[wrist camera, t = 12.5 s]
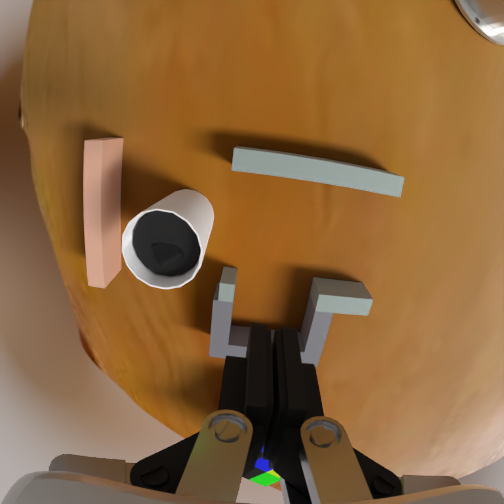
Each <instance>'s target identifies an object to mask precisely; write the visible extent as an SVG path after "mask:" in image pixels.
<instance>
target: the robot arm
mask: <svg viewBox="0 0 504 504" xmlns="http://www.w3.org/2000/svg"><path fill="white" fill-rule="evenodd" d="M455 2H456V4H457V6H458V8H459V10H460V11H461V13H462V14H463V16H464V17H465V18H466V20H467V21H468V22H469V24H470V25H471V26H472V27H473V28H474V29H475V30H476V31H477V32H478V33H480V34H481V35H482V36H483V37H484V38H486V39H487V40H489V41H491V42H493V43H495V44H497V45H501V46H504V0H455ZM262 447H263V459H264V460H269V468H273V471H274V472H275V473H277V474H278V475H279V476H280V484H281V488H282V493H283V498H284V502H285V504H504V494H503V493H502V492H501V491H499V490H497V489H495V488H492V487H489V486H483V485H470V484H468V485H461V484H460V482H459V481H458V480H457V479H455V478H454V477H450V476H417V475H403V476H402V477H397V476H396V475H395V474H394V473H393V472H391V471H389V470H388V469H386V468H384V467H383V466H381V465H379V464H378V463H376V462H375V461H373V460H371V459H370V458H368V457H367V456H365V455H364V454H362V453H360V452H359V451H357V450H356V449H354V448H353V447H352V445H351V443H350V440H349V438H348V436H347V433H346V431H345V429H344V427H343V426H342V425H341V424H340V423H339V422H338V421H336V420H334V419H332V418H329V417H325V416H324V413H323V407H322V402H321V396H320V391H319V385H318V380H317V375H316V369H315V366H314V364H310V363H302V360H301V353H300V347H299V340H298V334H297V328H293V327H283V326H282V327H281V329H280V330H275V332H274V337H273V342H272V338H271V329H266V325H264V324H255V323H251V325H250V331H249V337H248V344H247V351H246V357H245V358H244V357H236V356H228V355H226V359H225V366H224V373H223V380H222V388H221V395H220V402H219V409H218V411H215V412H213V413H211V414H210V415H208V416H207V417H206V419H205V421H204V422H203V425H202V427H201V430H200V431H199V432H198V433H196V434H194V435H192V436H190V437H188V438H186V439H184V440H182V441H180V442H178V443H176V444H174V445H172V446H170V447H168V448H166V449H164V450H162V451H159V452H157V453H155V454H153V455H151V456H149V457H146V458H144V459H142V460H140V461H139V462H137V463H126V462H125V460H117V459H106V458H96V457H87V456H78V455H72V454H62V455H60V456H57V457H56V458H54V459H53V460H52V462H51V464H50V466H49V471H41V472H34V473H30V474H27V475H25V476H23V477H21V478H20V479H19V480H18V481H17V482H16V483H15V484H14V485H13V486H12V487H11V489H10V490H9V491H8V493H7V495H6V496H5V498H4V499H3V501H2V503H1V504H248V503H235V502H236V498H237V494H238V491H239V486H240V483H241V478H242V477H244V476H245V475H247V474H248V473H250V472H251V471H253V470H254V468H255V464H256V461H257V459H259V457H260V454H261V451H262Z"/></svg>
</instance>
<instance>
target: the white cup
mask: <svg viewBox="0 0 504 504" xmlns="http://www.w3.org/2000/svg"><path fill="white" fill-rule="evenodd" d="M213 220H214V213H213V209H212V205H211V204H210V202H209V201H208V199H207V198H206V197H205V196H204V195H202V194H201V193H199V192H197V191H195V190H189V189H183V190H179V191H175V192H173V193H172V194H170V195H168V196H167V197H165V198H163V199H162V200H160V201H158V202H157V203H155V204H154V205H152V206H150V207H149V208H147V209H146V210H144V211H142V212H141V213H140V214H138V215H137V216H136V217H135V218H133V219H132V220H131V221H130V222H129V223H128V225H127V227H126V229H125V231H124V233H123V235H122V253H123V256H124V259H125V262H126V264H127V266H128V268H129V269H130V270H131V271H132V273H133V274H134V275H135V276H136V277H137V278H138V279H139V280H141V281H143V282H144V283H146V284H148V285H149V286H152V287H156V288H161V289H171V288H177V287H181V286H183V285H184V284H186V283H187V282H189V281H191V280H192V279H193V278H194V277H195V275H196V273H197V272H198V270H199V269H200V267H201V265H202V261H203V257H204V254H205V250H206V247H207V243H208V240H209V236H210V233H211V229H212V226H213Z"/></svg>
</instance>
